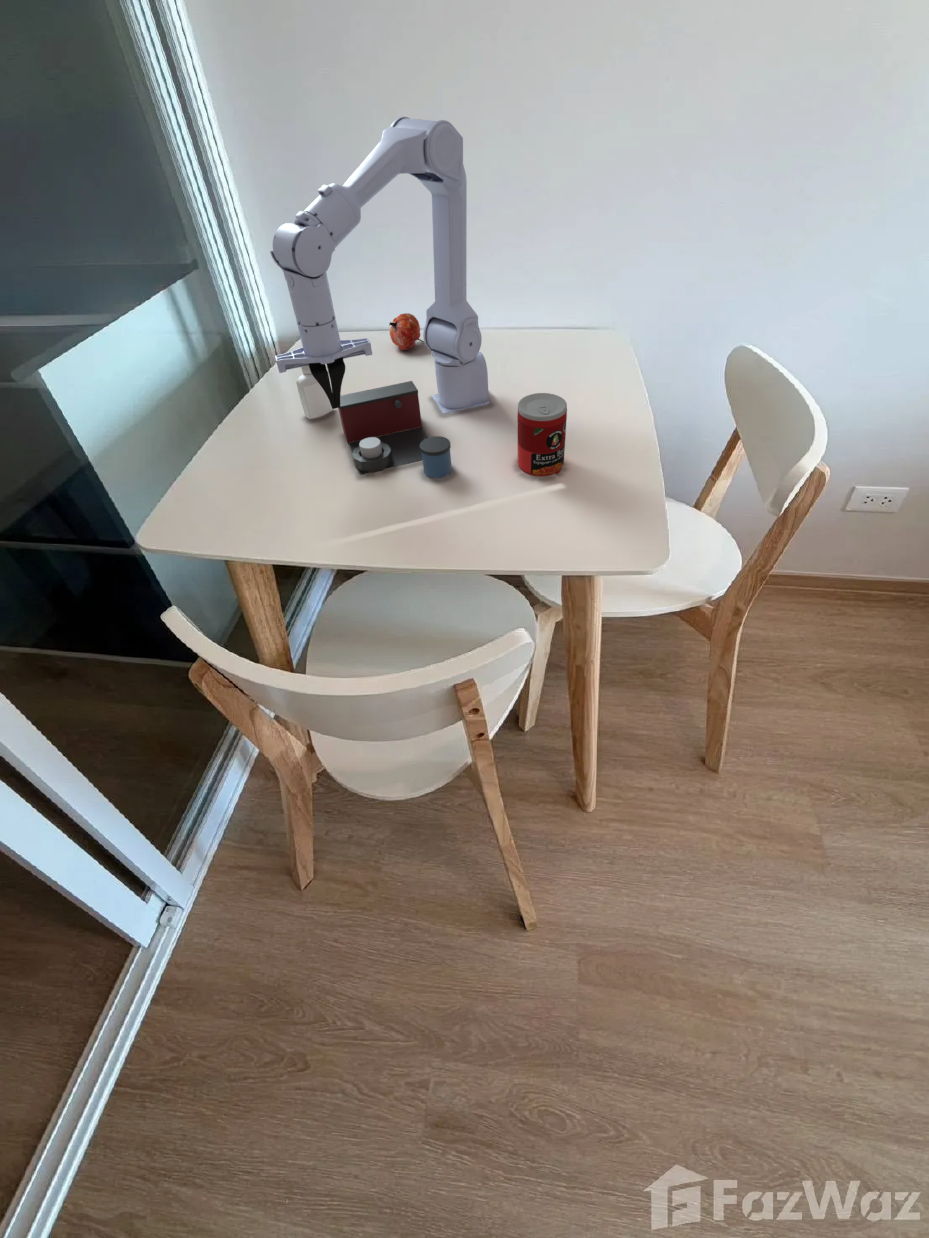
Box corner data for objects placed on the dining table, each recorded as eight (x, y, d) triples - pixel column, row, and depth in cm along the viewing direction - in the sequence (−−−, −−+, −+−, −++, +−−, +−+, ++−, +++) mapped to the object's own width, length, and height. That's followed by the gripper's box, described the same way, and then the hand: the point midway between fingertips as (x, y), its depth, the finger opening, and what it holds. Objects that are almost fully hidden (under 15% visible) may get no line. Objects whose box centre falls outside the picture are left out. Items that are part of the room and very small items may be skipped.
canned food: (533, 484, 100) (534, 422, 92) (508, 462, 105) (507, 401, 97) (573, 470, 102) (577, 407, 94) (546, 448, 107) (549, 387, 99)
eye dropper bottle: (335, 417, 120) (320, 355, 111) (306, 422, 119) (289, 360, 111) (333, 407, 123) (319, 346, 114) (304, 412, 122) (288, 351, 114)
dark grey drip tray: (440, 460, 107) (438, 446, 105) (359, 478, 105) (356, 465, 103) (422, 429, 115) (421, 416, 113) (347, 446, 112) (344, 433, 110)
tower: (424, 432, 114) (419, 392, 108) (349, 449, 111) (340, 409, 106) (416, 419, 117) (412, 380, 112) (343, 435, 115) (335, 396, 109)
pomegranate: (410, 348, 146) (375, 329, 139) (426, 319, 142) (391, 299, 135) (421, 363, 141) (385, 345, 135) (438, 334, 138) (402, 314, 131)
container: (447, 462, 106) (445, 433, 102) (456, 477, 103) (454, 448, 99) (419, 469, 106) (416, 440, 102) (428, 484, 102) (424, 455, 98)
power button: (384, 456, 105) (382, 445, 103) (363, 461, 104) (361, 450, 103) (379, 446, 107) (377, 435, 106) (359, 450, 107) (357, 439, 105)
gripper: (269, 338, 87) (294, 426, 97) (369, 319, 90) (384, 407, 100) (264, 320, 92) (289, 406, 102) (359, 303, 95) (374, 388, 104)
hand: (335, 405), depth 101 cm, fingers closed
